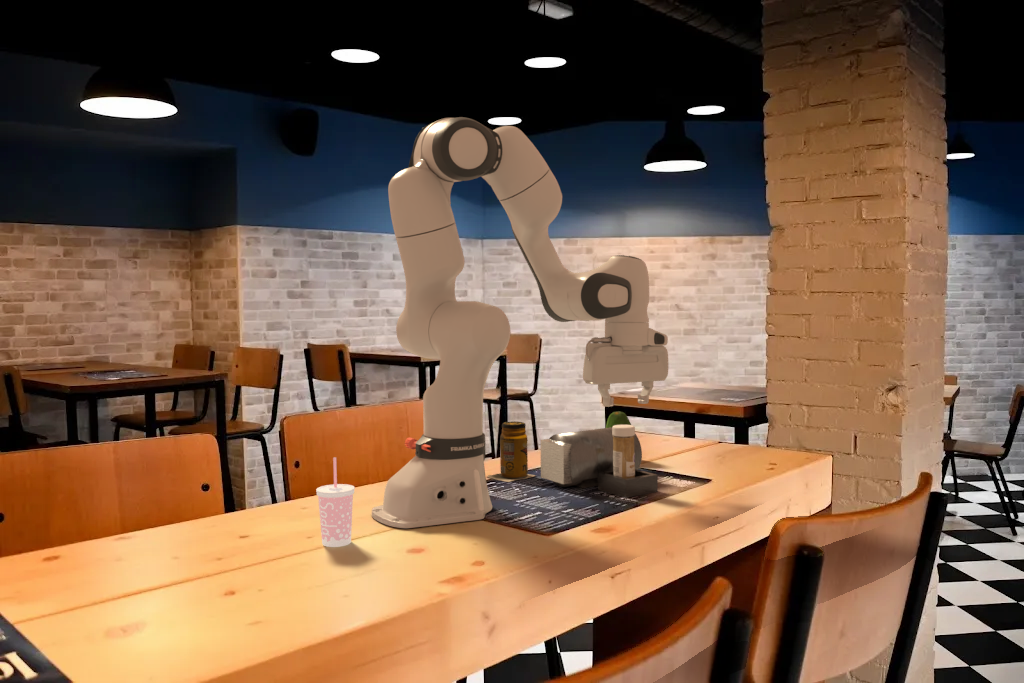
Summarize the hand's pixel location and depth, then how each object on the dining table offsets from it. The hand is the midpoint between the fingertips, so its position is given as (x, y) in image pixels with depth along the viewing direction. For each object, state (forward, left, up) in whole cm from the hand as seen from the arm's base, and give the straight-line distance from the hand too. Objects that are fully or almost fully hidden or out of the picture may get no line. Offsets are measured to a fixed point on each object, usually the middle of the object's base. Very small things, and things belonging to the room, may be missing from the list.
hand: (625, 404), depth 166 cm
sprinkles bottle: (-1, 0, -18) cm, 18 cm away
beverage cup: (-62, +1, -18) cm, 64 cm away
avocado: (+19, +24, -18) cm, 36 cm away
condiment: (-12, +25, -18) cm, 33 cm away
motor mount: (0, +6, -18) cm, 19 cm away
